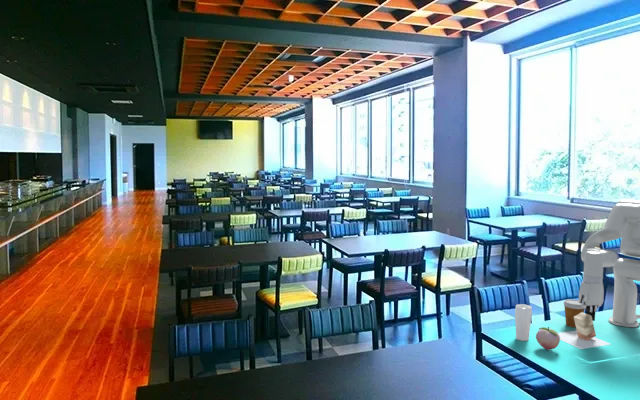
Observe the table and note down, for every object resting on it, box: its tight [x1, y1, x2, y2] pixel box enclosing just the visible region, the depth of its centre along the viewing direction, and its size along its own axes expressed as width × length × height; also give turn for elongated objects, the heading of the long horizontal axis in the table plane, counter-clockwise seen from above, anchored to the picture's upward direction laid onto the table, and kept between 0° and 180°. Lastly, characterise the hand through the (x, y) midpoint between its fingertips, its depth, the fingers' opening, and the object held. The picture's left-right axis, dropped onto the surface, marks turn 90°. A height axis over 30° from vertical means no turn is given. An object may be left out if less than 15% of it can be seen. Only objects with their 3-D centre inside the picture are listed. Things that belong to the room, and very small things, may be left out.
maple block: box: [574, 312, 597, 341], centre depth 222 cm, size 5×5×10 cm
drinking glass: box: [514, 303, 533, 342], centre depth 222 cm, size 7×7×15 cm
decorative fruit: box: [535, 326, 561, 351], centre depth 211 cm, size 9×8×10 cm
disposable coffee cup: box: [563, 298, 585, 329], centre depth 239 cm, size 10×10×12 cm
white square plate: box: [557, 329, 612, 350], centre depth 222 cm, size 17×18×1 cm
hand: (590, 320), depth 223 cm, fingers closed
